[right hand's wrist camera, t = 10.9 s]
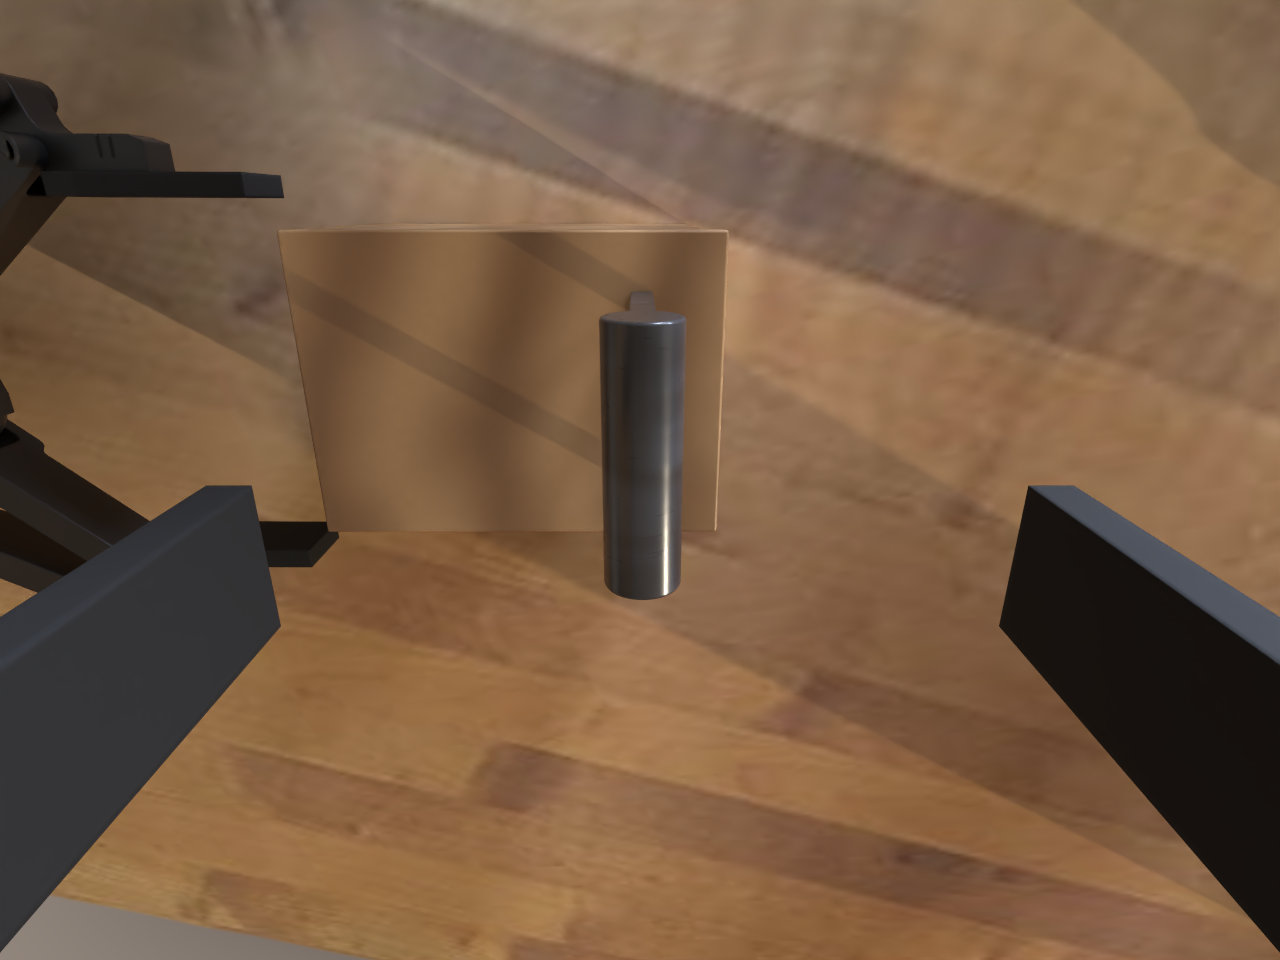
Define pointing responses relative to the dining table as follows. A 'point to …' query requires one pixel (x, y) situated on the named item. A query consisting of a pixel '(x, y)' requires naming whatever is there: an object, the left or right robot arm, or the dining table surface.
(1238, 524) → the dining table surface
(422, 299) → the lid
